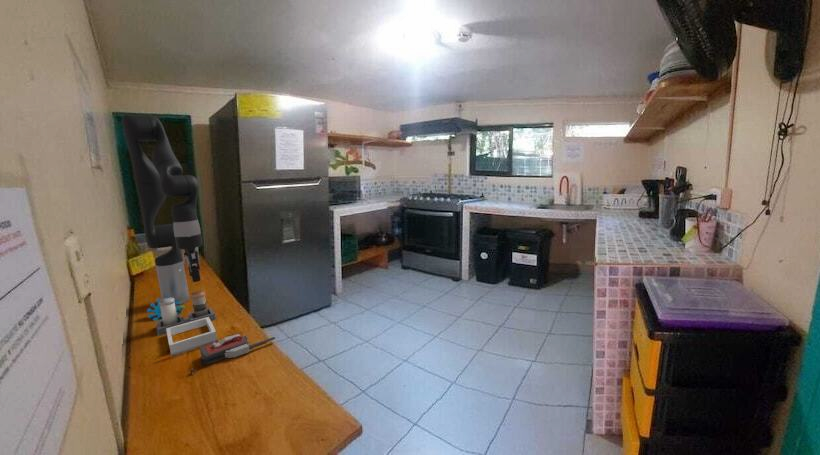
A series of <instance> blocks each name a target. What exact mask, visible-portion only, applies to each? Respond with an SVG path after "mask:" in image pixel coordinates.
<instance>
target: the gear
mask: <svg viewBox="0 0 820 455" xmlns="http://www.w3.org/2000/svg"><path fill="white" fill-rule="evenodd" d="M165 298H168V297H164V299H165ZM172 298H173V297H172ZM160 300H162V298H156V303H157V305H156V304H155V303H154V302H151V303H150V304H149V306H150V307H152V308H154V309H152V308H150V307H149V308H148V309H147V310H146V313H148V315H147V316H148V319H152V321H153V322H157V321H159V319H160V321H161V320H162V314H161V309H160V305H159V301H160ZM174 300H175V298H174ZM175 304H176V305H175V308H176V314H177V316H179V313H182V312H183V310H184V309H185V305H184V304H183V305H182V304H179V301H176V302H175ZM152 313H153V314H152Z"/></svg>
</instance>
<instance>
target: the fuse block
mask: <svg viewBox="0 0 820 455" xmlns="http://www.w3.org/2000/svg"><path fill="white" fill-rule="evenodd" d="M207 311H208V315H205V316H201V317H197V318H195V314H194V311H193V312H188V313H187V318H184V316H183V314H180V315H177V319H178V323H175V324H171V325H168V326H164V327H163V320H161V319H160V320H157V321H156V335H157V337H161V336H163V335H167V331H166V328H170V327H173V326H177V325H181V324H184V323H188V322H191V321H195V320H199V319H202V318H206V317H209V318H210V320H211V322H213V321H217V317H216V314H215V312H214V310H213V308H212V307H207Z"/></svg>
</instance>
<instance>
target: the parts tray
mask: <svg viewBox="0 0 820 455" xmlns="http://www.w3.org/2000/svg"><path fill="white" fill-rule="evenodd" d="M205 326H206V327H207V329H208V332H204V333H201V334H198V335H195V336H191V337H189V338H185V339H182V340H178V341H175V342H174V341H173V336H174V335H177V334H178V335H179V334H181V333H184V332H187V331H192V330H195V329H199V328H202V327H205ZM166 331H167V334H166V335H167V340H168V341H167V342H168V346H169V351H170V356H171V357H175V356H177V355H181V354H183V353H187V352H190V351H192V350H197V349H200V348H203V347H206V346H209V345H212V343H214V342H215V343H218V342H219V341H218V336H217V331H216V328H215V327H214V324H213V321H211V320H210V318H209V317H206V318H202V319H199V320H195V321H191V322H188V323H184V324H181V325H177V326H173V327H170V328H166Z"/></svg>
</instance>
